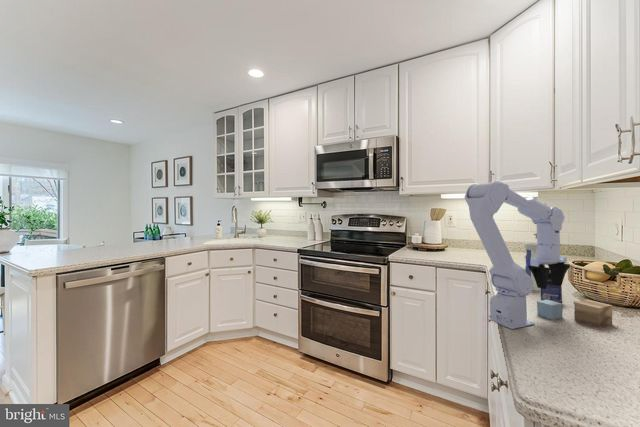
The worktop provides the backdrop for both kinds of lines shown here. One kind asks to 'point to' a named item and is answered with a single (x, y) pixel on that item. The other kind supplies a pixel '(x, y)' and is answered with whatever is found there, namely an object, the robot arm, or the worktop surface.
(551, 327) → the worktop surface
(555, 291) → the pill bottle
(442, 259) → the worktop surface
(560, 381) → the worktop surface
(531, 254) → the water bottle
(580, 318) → the slab lower
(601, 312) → the slab upper
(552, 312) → the cube
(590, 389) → the worktop surface
